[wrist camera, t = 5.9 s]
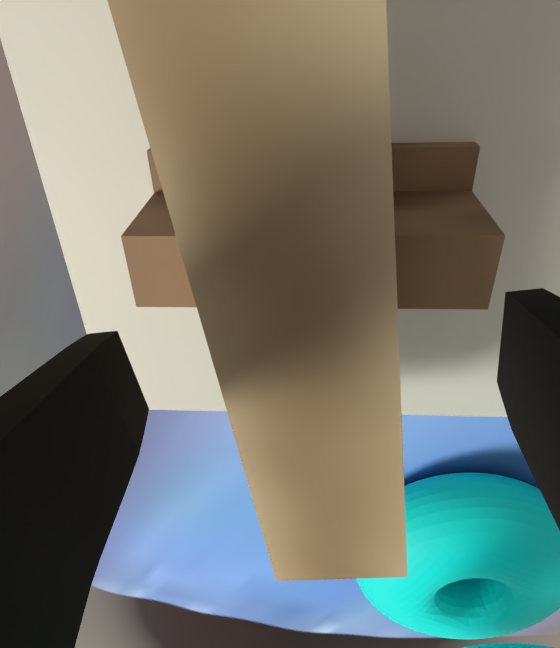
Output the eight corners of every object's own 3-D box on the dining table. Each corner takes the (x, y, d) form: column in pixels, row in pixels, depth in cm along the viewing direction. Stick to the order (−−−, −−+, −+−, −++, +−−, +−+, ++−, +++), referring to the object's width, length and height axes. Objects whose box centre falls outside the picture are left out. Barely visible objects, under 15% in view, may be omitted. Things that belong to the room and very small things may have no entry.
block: (475, 141, 14) (517, 183, 11) (450, 283, 16) (479, 348, 13) (151, 146, 14) (110, 187, 12) (173, 281, 17) (144, 344, 14)
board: (739, -36, 12) (757, -37, 11) (568, 407, 20) (574, 418, 19) (-1, -10, 13) (-14, -10, 13) (113, 398, 21) (108, 408, 20)
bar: (350, -248, 8) (371, -388, 5) (391, 471, 16) (407, 576, 13) (128, -192, 8) (22, -289, 5) (283, 477, 17) (276, 580, 14)
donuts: (788, 804, 14) (540, 866, 20) (616, 505, 23) (473, 604, 28) (506, 722, 12) (312, 815, 18) (429, 426, 21) (313, 549, 26)
